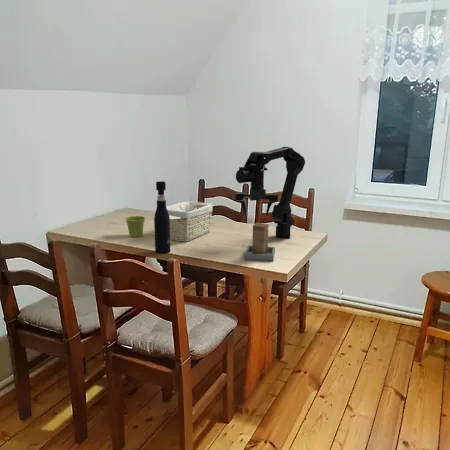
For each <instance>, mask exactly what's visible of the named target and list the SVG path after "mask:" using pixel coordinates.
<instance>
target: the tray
mask: <svg viewBox="0 0 450 450" xmlns="http://www.w3.org/2000/svg"><path fill="white" fill-rule="evenodd" d="M275 251H276V246H268V254H252V245H247V247H246V249H245V252H244V260H245V261H258V262H260V261H261V262H274V258H275V255H276V254H275V253H276V252H275Z"/></svg>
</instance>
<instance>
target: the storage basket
mask: <svg viewBox="0 0 450 450" xmlns="http://www.w3.org/2000/svg"><path fill="white" fill-rule="evenodd" d="M166 208H167V211H168V214H169V218H170V241H176V242H177V241H179V242H184V243H186V242H190V241H192V240H194V239H197V238H199V237H202V236H204V235H206V234H208V233H210V232H211V224H212V215H213V214H212V213H213V203H210V202H209V203H208V202H201V201H191V200H189V201H188V200H187V201H182V202H178V203H175V204H171V205H166Z"/></svg>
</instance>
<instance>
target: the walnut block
mask: <svg viewBox="0 0 450 450" xmlns="http://www.w3.org/2000/svg"><path fill="white" fill-rule="evenodd" d="M251 244H252V245H251V246H252V254H268V247H269V223H264V222H263V223H262V222H256V223H254V224H253V225H252V243H251Z"/></svg>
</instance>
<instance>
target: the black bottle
mask: <svg viewBox="0 0 450 450" xmlns="http://www.w3.org/2000/svg"><path fill="white" fill-rule="evenodd" d="M166 187H167V185H166V181H164V180H163V181H162V180H161V181H160V180H159V181H156V182H155V188H156V191H157V200H156V209H155V212H154V217H153V221H154V223H153V225H154V250H155V253H156V254H159V255H165V254H169V253H171V239H170V218H169V214H168V211H167V208H166V207H167V201H166V196H165V191H166Z"/></svg>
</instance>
